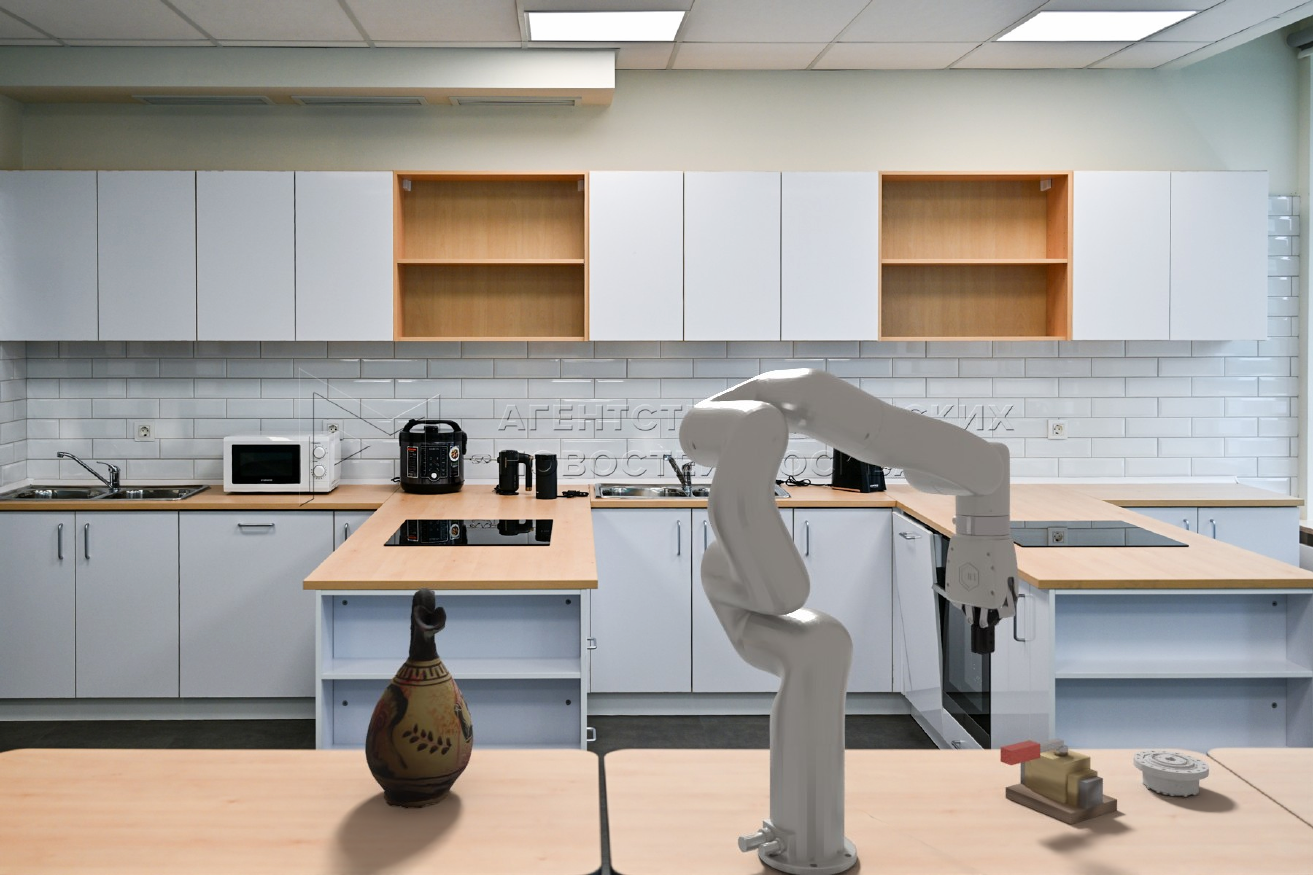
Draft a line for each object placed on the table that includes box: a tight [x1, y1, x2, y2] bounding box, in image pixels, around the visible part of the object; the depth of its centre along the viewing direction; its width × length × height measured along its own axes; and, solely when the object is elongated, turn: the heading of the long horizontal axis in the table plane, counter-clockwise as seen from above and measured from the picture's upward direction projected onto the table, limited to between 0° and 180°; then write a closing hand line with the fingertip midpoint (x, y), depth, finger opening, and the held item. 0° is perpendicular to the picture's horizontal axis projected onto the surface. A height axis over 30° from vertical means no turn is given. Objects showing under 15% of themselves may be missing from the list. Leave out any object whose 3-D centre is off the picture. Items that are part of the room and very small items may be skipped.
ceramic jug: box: [364, 587, 474, 809], centre depth 143 cm, size 17×15×30 cm
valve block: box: [1005, 749, 1118, 825], centre depth 139 cm, size 10×11×7 cm
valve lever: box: [999, 737, 1069, 766], centre depth 137 cm, size 12×2×2 cm, turn 120°
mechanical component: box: [1133, 749, 1210, 798], centre depth 145 cm, size 10×4×10 cm
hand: (982, 652), depth 141 cm, fingers closed
